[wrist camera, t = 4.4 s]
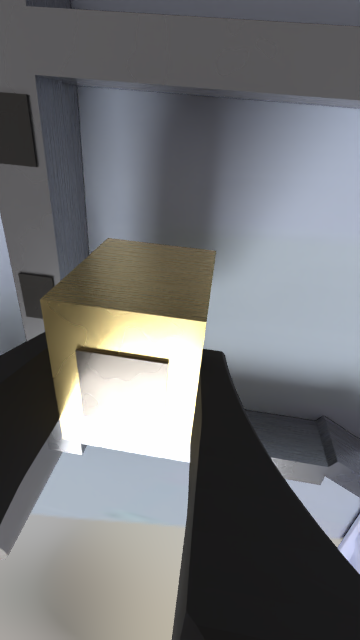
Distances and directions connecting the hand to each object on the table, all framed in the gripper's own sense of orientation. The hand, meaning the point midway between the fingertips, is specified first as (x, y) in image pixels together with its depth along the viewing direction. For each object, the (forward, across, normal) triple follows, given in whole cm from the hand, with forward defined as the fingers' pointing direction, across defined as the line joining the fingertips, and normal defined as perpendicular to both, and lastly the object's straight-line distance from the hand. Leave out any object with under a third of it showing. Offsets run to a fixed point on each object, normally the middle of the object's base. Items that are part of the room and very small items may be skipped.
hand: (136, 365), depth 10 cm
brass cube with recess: (+4, 0, 0) cm, 4 cm away
